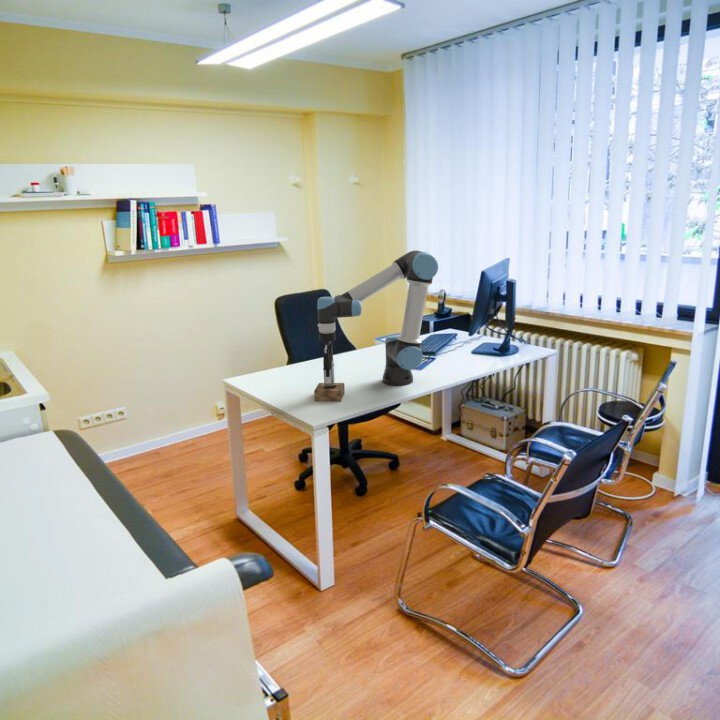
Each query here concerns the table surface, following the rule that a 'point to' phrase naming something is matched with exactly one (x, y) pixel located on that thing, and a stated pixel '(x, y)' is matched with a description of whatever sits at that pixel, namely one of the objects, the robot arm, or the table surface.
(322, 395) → the brown square hole block
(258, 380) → the table surface
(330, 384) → the metal peg
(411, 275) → the robot arm
